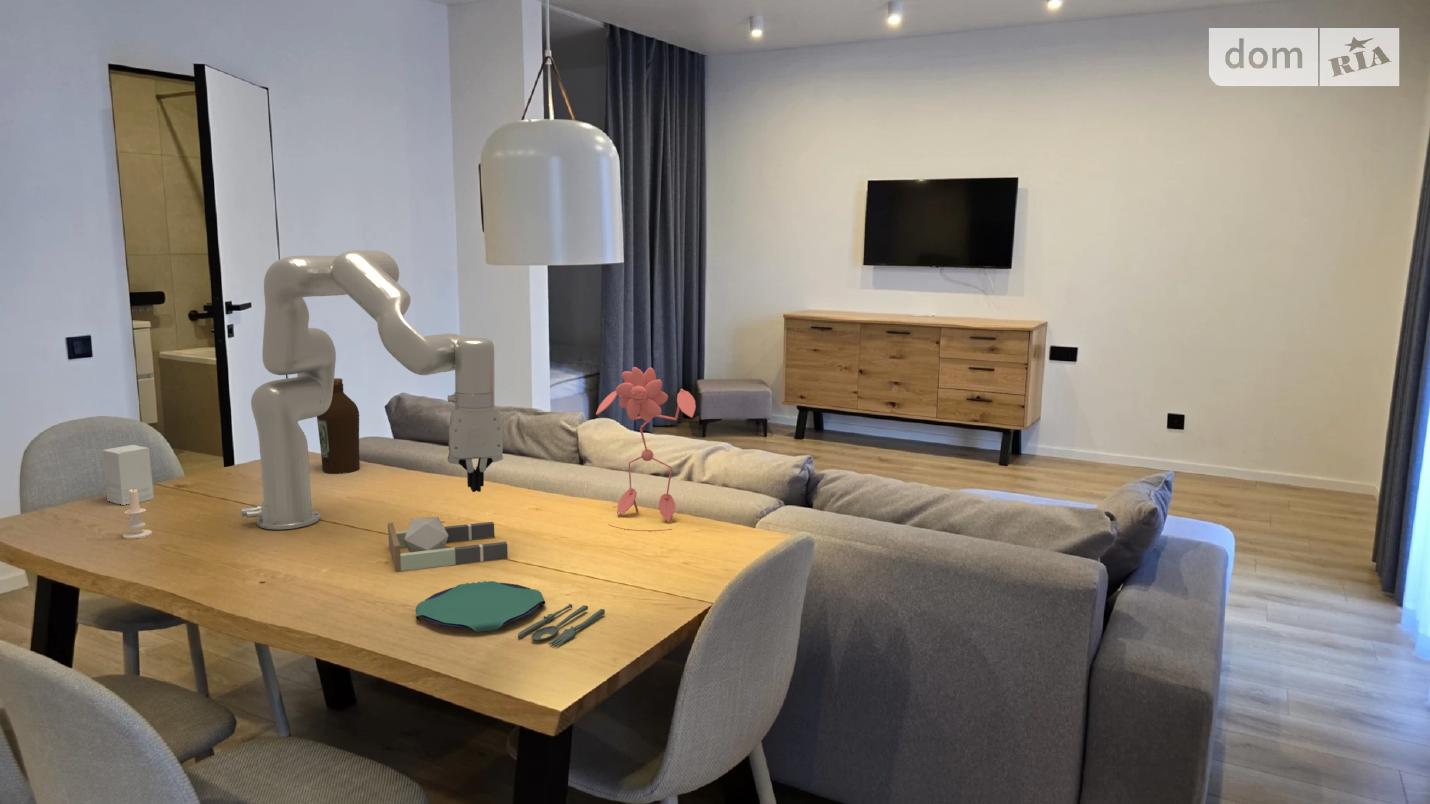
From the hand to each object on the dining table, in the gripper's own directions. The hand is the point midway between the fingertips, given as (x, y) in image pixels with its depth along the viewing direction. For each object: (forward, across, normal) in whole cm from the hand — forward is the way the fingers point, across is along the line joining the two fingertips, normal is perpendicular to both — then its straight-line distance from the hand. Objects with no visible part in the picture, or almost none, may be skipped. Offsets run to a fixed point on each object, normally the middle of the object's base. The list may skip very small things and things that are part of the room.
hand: (475, 490), depth 187 cm
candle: (+15, -64, +34) cm, 74 cm away
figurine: (+12, +37, +5) cm, 39 cm away
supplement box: (+15, -70, +66) cm, 98 cm away
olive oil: (+15, -23, +81) cm, 86 cm away
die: (+13, -10, -2) cm, 16 cm away
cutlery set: (+12, -1, -38) cm, 40 cm away
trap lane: (+12, -6, -1) cm, 14 cm away
